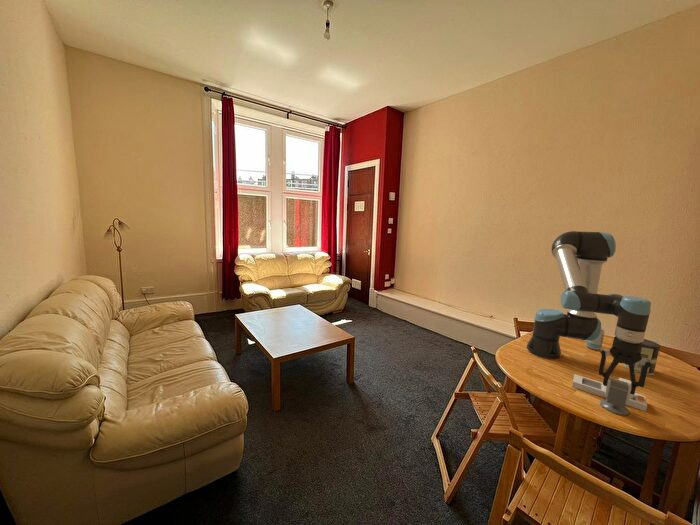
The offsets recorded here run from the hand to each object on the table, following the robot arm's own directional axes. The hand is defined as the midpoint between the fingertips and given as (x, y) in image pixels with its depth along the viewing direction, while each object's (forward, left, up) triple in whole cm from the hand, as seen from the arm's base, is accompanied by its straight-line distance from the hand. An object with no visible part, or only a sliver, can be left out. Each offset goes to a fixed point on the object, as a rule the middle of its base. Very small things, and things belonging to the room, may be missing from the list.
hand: (616, 397), depth 106 cm
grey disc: (0, 0, -5) cm, 5 cm away
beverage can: (-7, +62, -5) cm, 63 cm away
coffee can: (+10, +48, -5) cm, 49 cm away
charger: (0, 0, -2) cm, 2 cm away
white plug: (+3, +10, -3) cm, 11 cm away
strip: (-2, +10, -5) cm, 11 cm away
